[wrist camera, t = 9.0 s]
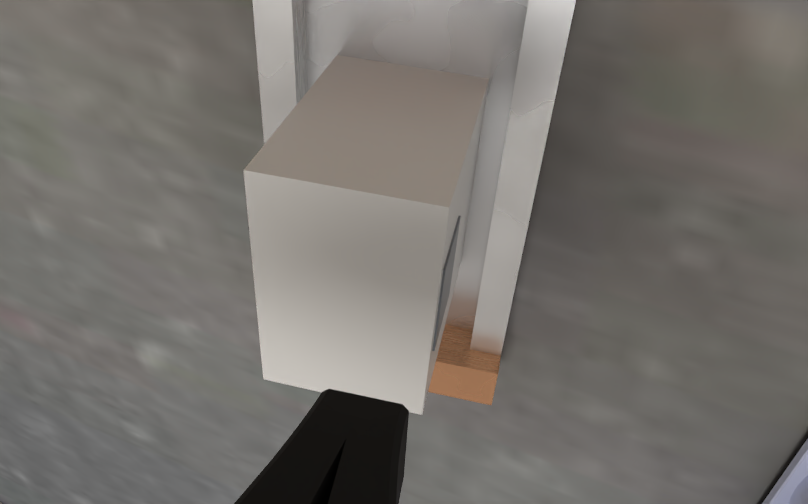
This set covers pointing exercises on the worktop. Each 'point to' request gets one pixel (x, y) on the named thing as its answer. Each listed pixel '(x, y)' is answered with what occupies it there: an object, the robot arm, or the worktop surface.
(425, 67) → the rail
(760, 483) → the worktop surface
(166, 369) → the worktop surface
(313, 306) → the block
